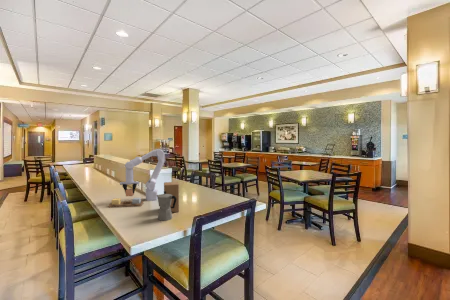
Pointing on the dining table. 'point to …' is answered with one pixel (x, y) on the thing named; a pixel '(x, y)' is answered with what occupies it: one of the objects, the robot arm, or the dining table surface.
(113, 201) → the ochre cube
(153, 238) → the dining table surface
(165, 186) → the wooden block
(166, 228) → the dining table surface
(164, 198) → the coffeepot
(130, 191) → the terracotta cube
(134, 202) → the slate cube
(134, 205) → the frame
